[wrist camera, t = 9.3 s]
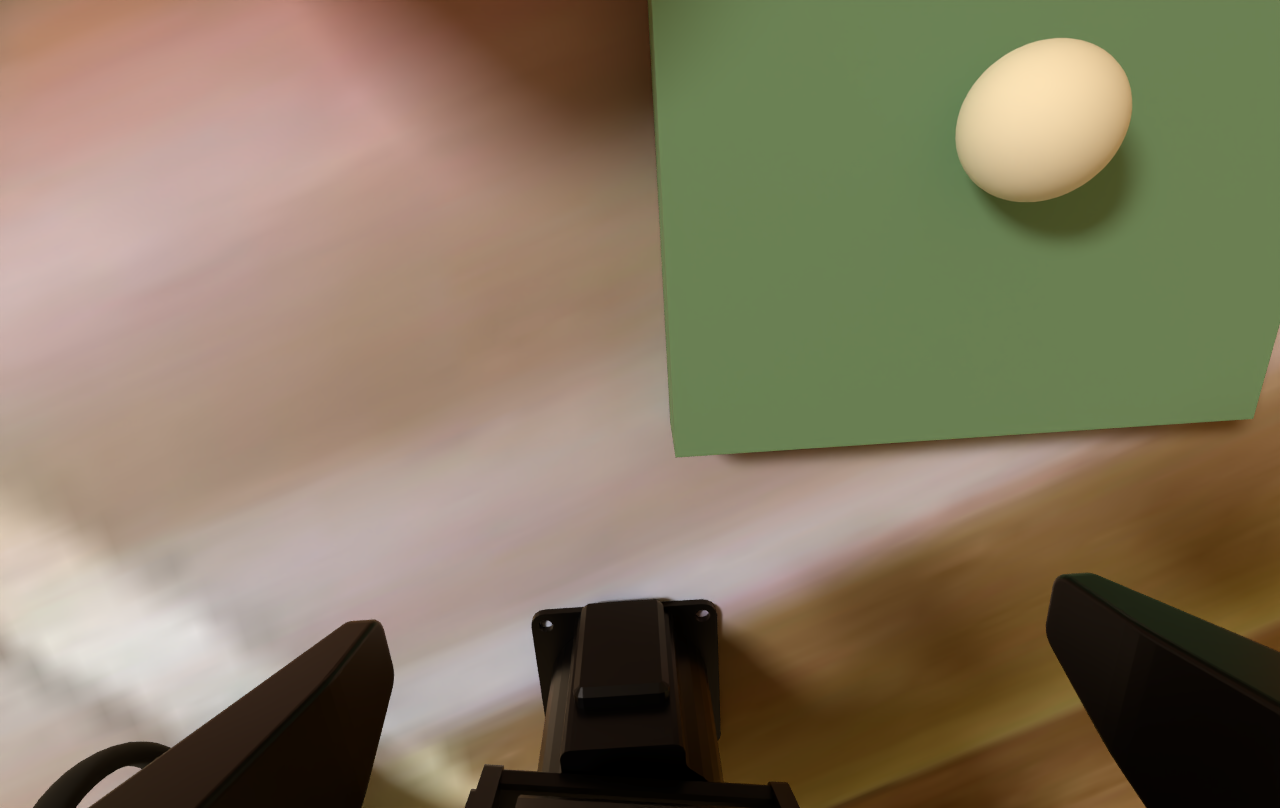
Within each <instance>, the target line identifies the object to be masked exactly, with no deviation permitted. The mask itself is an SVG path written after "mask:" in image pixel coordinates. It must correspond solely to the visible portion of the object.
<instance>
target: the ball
mask: <svg viewBox="0 0 1280 808" xmlns="http://www.w3.org/2000/svg"><path fill="white" fill-rule="evenodd" d="M1131 114H1132V94H1131V88H1130V84H1129V81H1128V78H1127V76H1126V74H1125V72H1124V70H1123V69H1122V67H1121V65H1120V64H1119V63H1118V62H1117V61H1116V60H1115V59H1114V58H1113V57H1112V56H1111V55H1110V54H1109V53H1108V52H1106V51H1105V50H1104V49H1102V48H1100V47H1098V46H1096V45H1094V44H1092V43H1089V42H1086V41H1083V40H1078V39H1072V38H1052V39H1045V40H1039V41H1036V42H1032V43H1029V44H1026V45H1024V46H1022V47H1019V48H1017V49H1015V50H1013V51H1011V52H1009V53H1008V54H1006V55H1004V56H1003V57H1001V58H1000V59H999V60H997V61H996V62H995V63H993V64H992V65H991V66H990V67H989V68H988V69H987V70H986V71H985V72H983V74H982V75H981V76H980V77H979V78H978V80H977V81H976V82H975V83H974V85H973V86H972V88H971V89H970V91H969V92H968V94H967V96H966V98H965V99H964V101H963V104H962V106H961V109H960V112H959V115H958V119H957V124H956V135H955V140H956V149H957V154H958V157H959V160H960V163H961V165H962V167H963V169H964V170H965V172H966V174H967V175H968V176H969V177H970V179H971V180H972V181H973V182H974V183H975V184H976V185H977V186H978V187H980V188H981V189H983V190H984V191H986V192H987V193H989V194H991V195H993V196H995V197H998V198H1001V199H1005V200H1008V201H1014V202H1038V201H1044V200H1049V199H1052V198H1056V197H1059V196H1062V195H1064V194H1067V193H1069V192H1071V191H1073V190H1075V189H1077V188H1079V187H1080V186H1082V185H1084V184H1085V183H1087V182H1088V181H1089V180H1091V179H1092V178H1093V177H1094V176H1095V175H1097V174H1098V173H1099V172H1100V171H1101V170H1102V169H1103V168H1104V167H1105V166H1106V165H1107V164H1108V163H1109V162H1110V160H1111V159H1112V158H1113V157H1114V155H1115V154H1116V152H1117V151H1118V149H1119V147H1120V146H1121V144H1122V142H1123V140H1124V138H1125V136H1126V133H1127V130H1128V127H1129V124H1130V120H1131Z"/></svg>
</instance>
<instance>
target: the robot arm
mask: <svg viewBox="0 0 1280 808" xmlns="http://www.w3.org/2000/svg"><path fill="white" fill-rule="evenodd" d="M700 610H706V611H708V612H709V613H708V614H707V615H706V616H704V617H698V616H697V615H696V613H697V612H698V611H700ZM543 620H548V621H550V622H552V624H553V625H552V626H550V627H543V626H542V625H541V624H540V622H541V621H543ZM1046 633H1047V638H1048V641H1049V643H1050V645H1051V647H1052V649H1053V651H1054V653H1055V655H1056V657H1057V658H1058V660H1059V662H1060V664H1061V666H1062V668H1063V669H1064V671H1065V673H1066V675H1067V677H1068V678H1069V680H1070V682H1071V684H1072V686H1073V688H1074V689H1075V691H1076V693H1077V695H1078V697H1079V699H1080V700H1081V702H1082V704H1083V706H1084V708H1085V710H1086V711H1087V713H1088V715H1089V717H1090V719H1091V720H1092V722H1093V724H1094V726H1095V728H1096V730H1097V731H1098V733H1099V735H1100V737H1101V738H1102V740H1103V742H1104V744H1105V745H1106V747H1107V749H1108V750H1109V752H1110V754H1111V755H1112V757H1113V758H1114V760H1115V761H1116V763H1117V765H1118V766H1119V768H1120V769H1121V771H1122V772H1123V774H1124V775H1125V777H1126V778H1127V780H1128V781H1129V783H1130V784H1131V786H1132V787H1133V789H1134V790H1135V792H1136V793H1137V795H1138V796H1139V798H1140V799H1141V800H1142V802H1143V803H1144V805H1145V806H1146V808H1280V652H1278V651H1276V650H1274V649H1271V648H1269V647H1267V646H1264V645H1262V644H1259V643H1257V642H1255V641H1252V640H1250V639H1248V638H1245V637H1243V636H1240V635H1238V634H1236V633H1233V632H1231V631H1229V630H1226V629H1224V628H1222V627H1219V626H1217V625H1214V624H1212V623H1210V622H1207V621H1205V620H1203V619H1200V618H1198V617H1195V616H1193V615H1191V614H1188V613H1186V612H1184V611H1181V610H1179V609H1176V608H1174V607H1172V606H1169V605H1167V604H1165V603H1162V602H1160V601H1158V600H1155V599H1153V598H1150V597H1148V596H1146V595H1143V594H1141V593H1139V592H1136V591H1134V590H1131V589H1129V588H1127V587H1124V586H1122V585H1120V584H1117V583H1115V582H1113V581H1110V580H1108V579H1105V578H1103V577H1101V576H1098V575H1096V574H1093V573H1075V574H1063V575H1060V576H1058V577H1057V578H1056V580H1055V581H1054V584H1053V588H1052V594H1051V599H1050V605H1049V610H1048V616H1047V621H1046ZM532 634H533V640H534V647H535V653H536V660H537V667H538V673H539V680H540V686H541V693H542V699H543V706H544V713H545V724H544V730H543V737H542V744H541V751H540V757H539V764H538V771H521V770H504V766H502V765H486V764H485V765H484V768H483V771H482V774H481V777H480V780H479V783H478V786H477V789H471V791H470V794H469V797H468V800H467V803H466V806H465V808H800V807H799V805H798V803H797V801H796V799H795V796H794V794H793V792H792V790H791V788H790V786H789V784H788V783H786V782H768V785H756V784H739V783H724V781H723V775H722V768H721V761H720V755H719V748H718V742H717V741H718V740H719V738H720V735H721V732H720V700H719V667H718V635H717V613H716V608H715V605H714V604H713V603H712V602H710V601H708V600H703V599H699V600H683V601H668V602H659V601H657V600H655V599H653V600H638V601H622V602H607V603H592V604H588V605H586V606H585V607H576V608H561V609H545V610H541V611H539V612H537V613H536V614H535V615H534V617H533V620H532ZM393 682H394V669H393V664H392V660H391V656H390V652H389V648H388V644H387V640H386V636H385V632H384V629H383V626H382V624H381V623H380V622H379V621H377V620H359V621H349V622H347V623H345V624H343V625H342V626H340V627H339V628H338V629H336V630H335V631H333V632H332V633H331V634H329V635H328V636H327V637H325V638H324V639H322V640H321V641H320V642H318V643H317V644H315V645H314V646H313V647H311V648H310V649H308V650H307V651H306V652H304V653H303V654H302V655H300V656H299V657H297V658H296V659H295V660H293V661H292V662H290V663H289V664H288V665H286V666H285V667H283V668H282V669H281V670H279V671H278V672H277V673H275V674H274V675H272V676H271V677H270V678H268V679H267V680H265V681H264V682H263V683H261V684H260V685H258V686H257V687H256V688H254V689H253V690H252V691H250V692H249V693H247V694H246V695H245V696H243V697H242V698H240V699H239V700H238V701H236V702H235V703H233V704H232V705H231V706H229V707H228V708H226V709H225V710H224V711H222V712H221V713H220V714H218V715H217V716H215V717H214V718H213V719H211V720H210V721H208V722H207V723H206V724H204V725H203V726H201V727H200V728H199V729H197V730H196V731H194V732H193V733H192V734H190V735H189V736H188V737H186V738H185V739H183V740H182V741H181V742H179V743H178V744H176V745H175V746H174V747H172V748H171V749H169V750H168V751H167V752H165V753H164V754H162V755H161V756H160V757H158V758H157V759H155V760H154V761H153V762H151V763H150V764H149V765H147V766H146V767H144V768H143V769H142V770H140V771H139V772H137V773H136V774H135V775H133V776H132V777H130V778H129V779H128V780H126V781H125V782H123V783H122V784H121V785H119V786H118V787H117V788H115V789H114V790H112V791H111V792H110V793H108V794H107V795H105V796H104V797H103V798H101V799H100V800H98V801H97V802H96V803H94V804H93V805H91V806H90V807H89V808H361V807H362V804H363V801H364V797H365V794H366V790H367V787H368V783H369V779H370V775H371V771H372V767H373V763H374V759H375V755H376V751H377V748H378V744H379V740H380V736H381V732H382V728H383V724H384V720H385V716H386V712H387V708H388V704H389V700H390V696H391V692H392V688H393Z"/></svg>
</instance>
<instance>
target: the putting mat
mask: <svg viewBox="0 0 1280 808" xmlns="http://www.w3.org/2000/svg"><path fill="white" fill-rule="evenodd" d="M648 18H649V37H650V55H651V74H652V92H653V111H654V129H655V147H656V166H657V184H658V203H659V221H660V240H661V258H662V277H663V295H664V314H665V332H666V351H667V369H668V388H669V406H670V424H671V430H672V437H673V443H674V450H675V456H676V457H690V456H705V455H720V454H735V453H750V452H765V451H780V450H795V449H809V448H824V447H839V446H854V445H869V444H884V443H899V442H914V441H929V440H944V439H959V438H974V437H989V436H1003V435H1018V434H1033V433H1048V432H1063V431H1078V430H1093V429H1108V428H1123V427H1138V426H1153V425H1168V424H1182V423H1197V422H1212V421H1227V420H1242V419H1253V417H1254V414H1255V410H1256V407H1257V403H1258V399H1259V396H1260V392H1261V389H1262V385H1263V382H1264V378H1265V374H1266V371H1267V367H1268V364H1269V360H1270V357H1271V353H1272V349H1273V346H1274V342H1275V339H1276V335H1277V332H1278V328H1279V324H1280V0H648ZM1052 38H1072V39H1078V40H1083V41H1086V42H1089V43H1092V44H1094V45H1096V46H1098V47H1100V48H1102V49H1104V50H1105V51H1106V52H1108V53H1109V54H1110V55H1111V56H1112V57H1113V58H1114V59H1115V60H1116V61H1117V62H1118V63H1119V64H1120V65H1121V67H1122V69H1123V70H1124V72H1125V74H1126V76H1127V78H1128V81H1129V84H1130V88H1131V94H1132V114H1131V120H1130V124H1129V127H1128V130H1127V133H1126V136H1125V138H1124V140H1123V142H1122V144H1121V146H1120V147H1119V149H1118V151H1117V152H1116V154H1115V155H1114V157H1113V158H1112V159H1111V160H1110V162H1109V163H1108V164H1107V165H1106V166H1105V167H1104V168H1103V169H1102V170H1101V171H1100V172H1099V173H1098V174H1097V175H1095V176H1094V177H1093V178H1092V179H1091V180H1089V181H1088V182H1087V183H1085V184H1084V185H1082V186H1080V187H1079V188H1077V189H1075V190H1073V191H1071V192H1069V193H1067V194H1064V195H1062V196H1059V197H1056V198H1052V199H1049V200H1044V201H1038V202H1014V201H1008V200H1005V199H1001V198H998V197H995V196H993V195H991V194H989V193H987V192H986V191H984V190H983V189H981V188H980V187H978V186H977V185H976V184H975V183H974V182H973V181H972V180H971V179H970V177H969V176H968V175H967V174H966V172H965V170H964V169H963V167H962V165H961V163H960V160H959V157H958V154H957V149H956V140H955V135H956V124H957V119H958V115H959V112H960V109H961V106H962V104H963V101H964V99H965V98H966V96H967V94H968V92H969V91H970V89H971V88H972V86H973V85H974V83H975V82H976V81H977V80H978V78H979V77H980V76H981V75H982V74H983V72H985V71H986V70H987V69H988V68H989V67H990V66H991V65H992V64H993V63H995V62H996V61H997V60H999V59H1000V58H1001V57H1003V56H1004V55H1006V54H1008V53H1009V52H1011V51H1013V50H1015V49H1017V48H1019V47H1022V46H1024V45H1026V44H1029V43H1032V42H1036V41H1039V40H1045V39H1052Z"/></svg>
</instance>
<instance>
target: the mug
mask: <svg viewBox="0 0 1280 808" xmlns="http://www.w3.org/2000/svg"><path fill="white" fill-rule="evenodd" d="M169 749H171V748H170V747H167V746H164V745H161V744H158V743H153V742H128V743H124V744H120V745H116V746H112V747H109V748H107V749H104V750H102V751H99V752H97V753H95V754H93V755H92V756H90V757H88V758H86V759H85V760H83V761H81V762H80V763H78V764H77V765H75V766H74V767H72V768H71V769H70V770H68V771H67V772H66V773H65V774H63V775H62V776H61V777H60V778H59V779H58V780H57V781H56V782H55V783H54V784H52V786H51V787H50V788H49V789H48V790H47V791H46V792H45V793H44V794H43V796H42V797H41V798H40V799H39V800H38V802H37V803H36V804H35V806H34V807H33V808H76V807H77V805H78V804H79V803H80V802H81V800H82V799H83V798H84V797H85V795H86V794H87V793H88V792H89V791H90V790H91V789H92V788H93V787H94V786H95V785H96V784H98V783H99V782H100V781H101V780H102V779H104V778H105V777H106V776H108V775H109V774H111V773H112V772H114V771H116V770H117V769H119V768H122V767H125V766H135V767H138V768H141V769H143V768H144V767H146V766H147V765H149V764H150V763H151V762H153V761H154V760H155V759H157V758H158V757H160V756H161V755H162V754H164V753H165V752H167V751H168V750H169Z"/></svg>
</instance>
